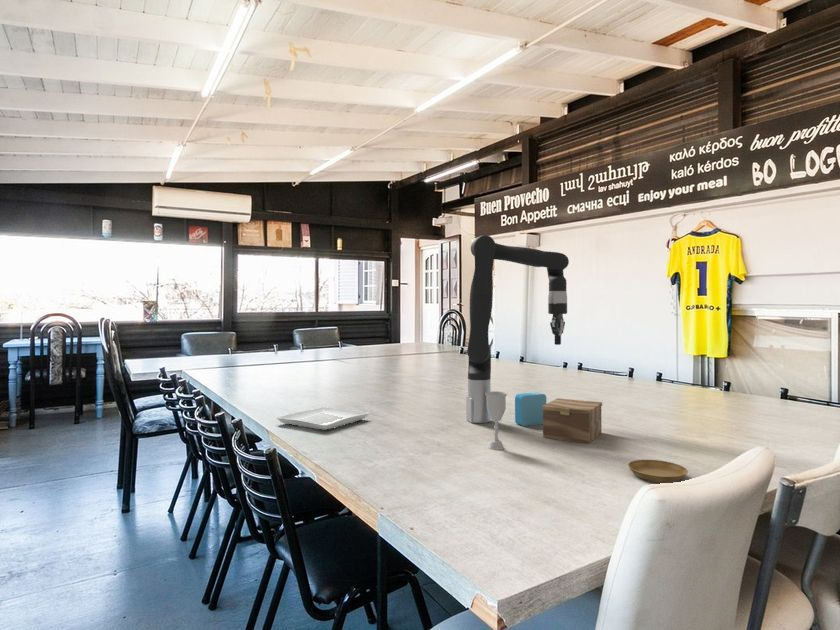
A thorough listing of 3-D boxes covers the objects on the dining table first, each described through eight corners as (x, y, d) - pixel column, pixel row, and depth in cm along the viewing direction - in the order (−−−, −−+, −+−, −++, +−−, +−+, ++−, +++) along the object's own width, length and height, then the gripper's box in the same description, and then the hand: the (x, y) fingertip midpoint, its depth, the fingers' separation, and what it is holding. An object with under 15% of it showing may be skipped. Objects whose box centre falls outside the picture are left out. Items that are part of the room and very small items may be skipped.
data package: (539, 421, 204) (539, 392, 204) (546, 423, 200) (546, 393, 200) (514, 424, 200) (514, 394, 200) (521, 426, 196) (521, 395, 196)
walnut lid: (557, 403, 194) (557, 398, 194) (602, 407, 185) (602, 402, 185) (541, 412, 178) (541, 406, 178) (589, 417, 169) (589, 411, 169)
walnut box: (558, 427, 194) (558, 401, 194) (601, 432, 186) (601, 405, 185) (543, 437, 179) (543, 409, 179) (589, 443, 170) (589, 414, 170)
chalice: (509, 445, 168) (508, 392, 168) (505, 451, 162) (505, 395, 161) (487, 444, 170) (487, 391, 170) (483, 449, 164) (482, 394, 164)
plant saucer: (660, 489, 127) (660, 479, 127) (616, 472, 141) (616, 463, 141) (700, 481, 133) (700, 471, 133) (654, 465, 147) (654, 456, 147)
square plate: (371, 420, 209) (371, 411, 209) (325, 434, 186) (325, 424, 186) (322, 414, 223) (322, 405, 223) (274, 426, 200) (274, 416, 200)
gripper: (553, 302, 214) (553, 343, 214) (543, 302, 203) (543, 345, 203) (571, 302, 210) (571, 343, 210) (562, 302, 199) (562, 346, 199)
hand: (557, 344), depth 207 cm, fingers closed
